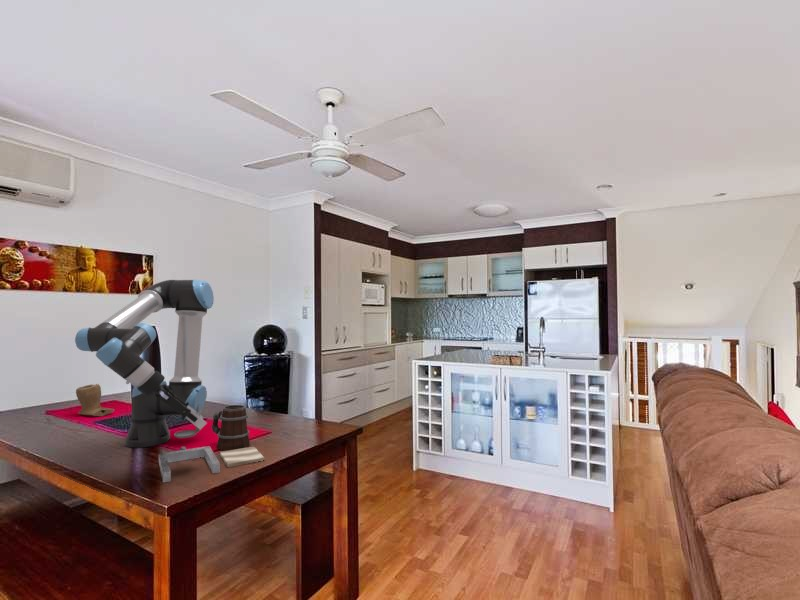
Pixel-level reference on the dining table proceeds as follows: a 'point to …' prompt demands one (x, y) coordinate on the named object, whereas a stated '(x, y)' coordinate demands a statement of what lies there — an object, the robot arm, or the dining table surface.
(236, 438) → the mug
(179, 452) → the u-shaped metal frame
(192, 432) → the pocket watch
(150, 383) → the robot arm
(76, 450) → the dining table surface
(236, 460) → the ash board
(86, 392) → the tan upright piece
